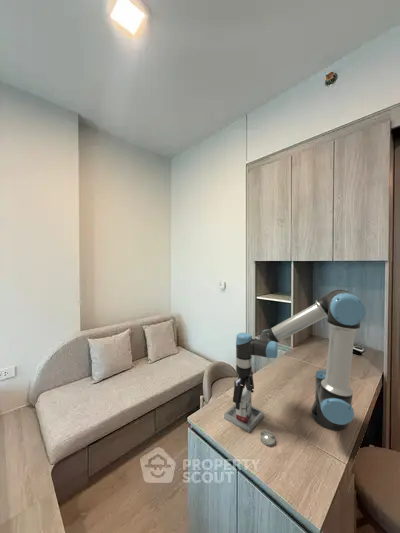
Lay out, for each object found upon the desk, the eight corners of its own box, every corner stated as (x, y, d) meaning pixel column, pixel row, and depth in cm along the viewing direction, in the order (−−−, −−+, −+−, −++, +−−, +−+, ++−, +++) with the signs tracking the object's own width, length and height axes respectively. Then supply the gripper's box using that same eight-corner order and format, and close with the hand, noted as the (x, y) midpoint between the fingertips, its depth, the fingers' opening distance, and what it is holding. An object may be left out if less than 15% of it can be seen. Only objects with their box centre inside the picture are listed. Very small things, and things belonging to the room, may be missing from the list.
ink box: (245, 423, 106) (245, 399, 106) (236, 419, 109) (235, 396, 109) (251, 412, 114) (251, 389, 113) (242, 409, 116) (242, 387, 116)
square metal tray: (263, 416, 112) (263, 411, 112) (249, 432, 101) (249, 427, 101) (239, 404, 121) (239, 399, 121) (224, 418, 111) (224, 413, 111)
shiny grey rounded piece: (276, 439, 98) (276, 433, 98) (272, 449, 93) (272, 443, 93) (263, 433, 101) (263, 427, 101) (258, 442, 96) (258, 436, 96)
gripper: (248, 355, 121) (248, 395, 122) (224, 371, 104) (225, 417, 105) (261, 359, 116) (260, 401, 117) (238, 376, 99) (238, 425, 101)
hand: (243, 409), depth 111 cm, fingers closed on ink box, 9 cm apart
